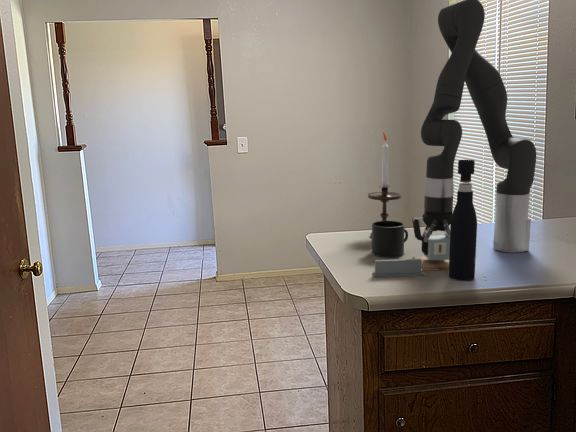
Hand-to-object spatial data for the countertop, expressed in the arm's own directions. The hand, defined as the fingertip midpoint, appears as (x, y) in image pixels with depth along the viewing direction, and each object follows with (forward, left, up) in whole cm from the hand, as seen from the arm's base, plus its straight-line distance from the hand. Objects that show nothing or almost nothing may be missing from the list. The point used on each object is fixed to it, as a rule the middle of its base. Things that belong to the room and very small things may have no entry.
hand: (436, 254), depth 156 cm
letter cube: (0, 0, -1) cm, 1 cm away
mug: (+10, -13, -3) cm, 16 cm away
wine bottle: (-3, +12, -3) cm, 13 cm away
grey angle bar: (+13, +9, -3) cm, 16 cm away
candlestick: (+8, -33, -3) cm, 34 cm away
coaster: (0, 0, -3) cm, 3 cm away
